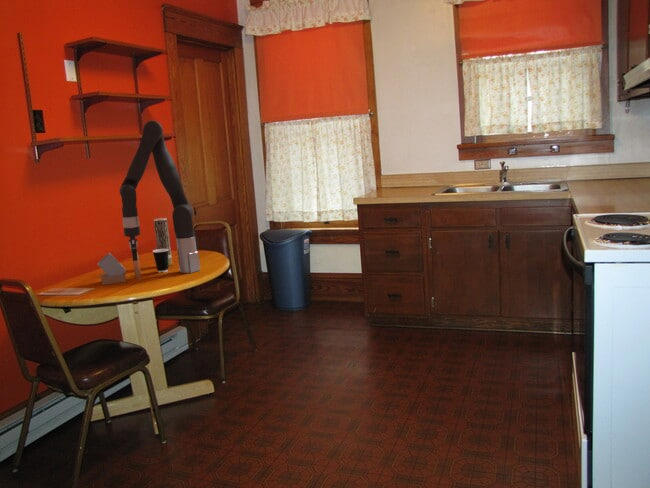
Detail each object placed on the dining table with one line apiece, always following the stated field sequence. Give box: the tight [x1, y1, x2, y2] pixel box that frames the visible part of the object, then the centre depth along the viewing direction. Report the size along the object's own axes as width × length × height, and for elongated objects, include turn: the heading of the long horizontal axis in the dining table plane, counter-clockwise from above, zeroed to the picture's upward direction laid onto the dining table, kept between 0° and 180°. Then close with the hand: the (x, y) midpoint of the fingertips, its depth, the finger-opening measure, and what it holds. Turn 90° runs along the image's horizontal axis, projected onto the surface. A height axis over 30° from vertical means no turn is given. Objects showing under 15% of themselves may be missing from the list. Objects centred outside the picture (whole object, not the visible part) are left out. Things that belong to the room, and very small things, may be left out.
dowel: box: [131, 252, 142, 280], centre depth 301 cm, size 3×3×12 cm
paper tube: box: [153, 217, 173, 267], centre depth 326 cm, size 7×7×25 cm
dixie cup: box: [152, 248, 169, 274], centre depth 312 cm, size 8×8×11 cm
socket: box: [97, 252, 127, 286], centre depth 296 cm, size 12×9×14 cm
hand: (134, 259), depth 300 cm, fingers open, 8 cm apart
